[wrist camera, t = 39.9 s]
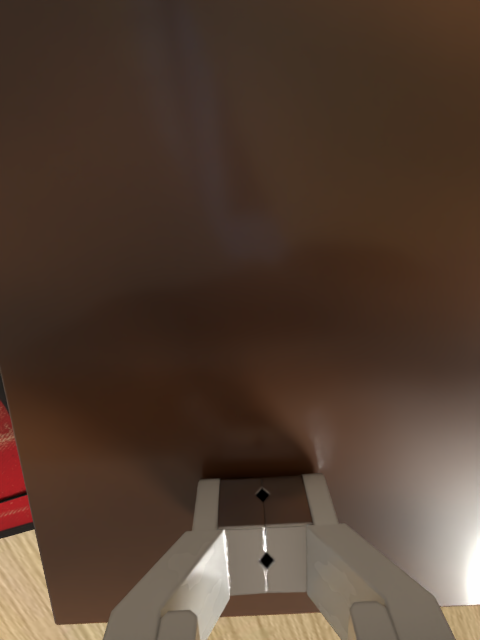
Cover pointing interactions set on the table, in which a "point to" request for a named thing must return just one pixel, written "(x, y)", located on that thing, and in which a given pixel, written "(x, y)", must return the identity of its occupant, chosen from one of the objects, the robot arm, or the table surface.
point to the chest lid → (241, 276)
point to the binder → (11, 479)
